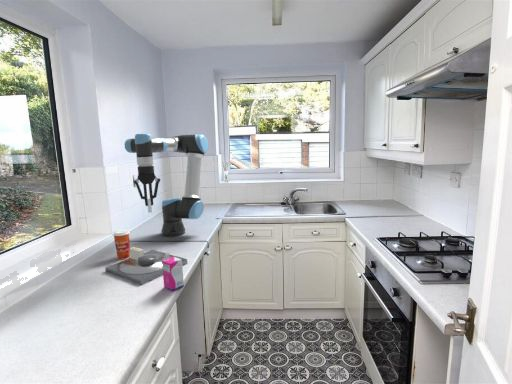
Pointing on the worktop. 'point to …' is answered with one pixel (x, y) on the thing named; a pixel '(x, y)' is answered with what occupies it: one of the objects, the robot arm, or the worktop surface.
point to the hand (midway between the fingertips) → (150, 211)
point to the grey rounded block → (142, 257)
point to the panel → (141, 268)
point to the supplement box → (172, 273)
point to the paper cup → (122, 243)
